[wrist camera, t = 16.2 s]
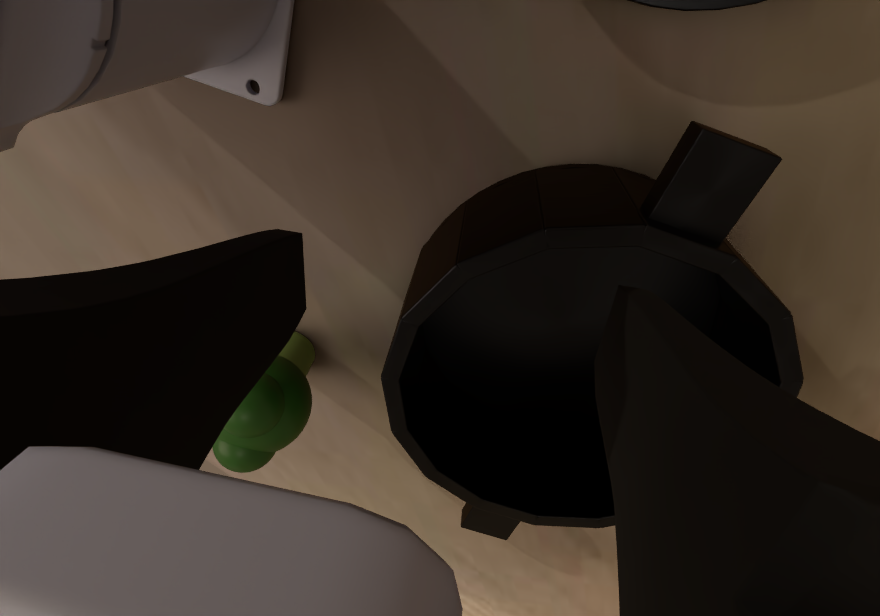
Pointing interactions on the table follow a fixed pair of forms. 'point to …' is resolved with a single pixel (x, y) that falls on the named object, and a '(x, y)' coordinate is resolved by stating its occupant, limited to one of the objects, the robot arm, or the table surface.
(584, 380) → the pot
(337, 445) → the table surface
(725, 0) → the lid
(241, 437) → the broccoli
